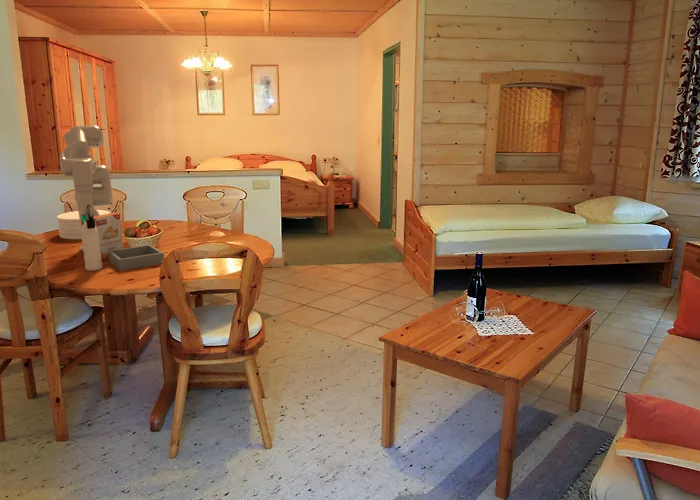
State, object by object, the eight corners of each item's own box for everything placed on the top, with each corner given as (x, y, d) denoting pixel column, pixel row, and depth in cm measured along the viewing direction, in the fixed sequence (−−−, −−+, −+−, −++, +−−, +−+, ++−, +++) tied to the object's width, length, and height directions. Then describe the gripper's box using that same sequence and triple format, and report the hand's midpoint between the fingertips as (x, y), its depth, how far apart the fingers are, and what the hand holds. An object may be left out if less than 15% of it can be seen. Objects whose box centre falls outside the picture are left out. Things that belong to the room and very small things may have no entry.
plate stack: (49, 235, 328) (46, 215, 325) (94, 226, 350) (92, 208, 347) (77, 241, 313) (75, 221, 310) (122, 232, 335) (120, 212, 332)
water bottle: (88, 267, 263) (82, 213, 257) (104, 266, 264) (98, 213, 258) (83, 271, 257) (76, 216, 250) (99, 271, 257) (92, 216, 251)
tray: (109, 261, 273) (107, 250, 272) (151, 254, 285) (150, 244, 283) (120, 270, 258) (119, 259, 256) (164, 263, 269) (163, 252, 268)
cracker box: (101, 261, 273) (96, 218, 268) (92, 259, 276) (87, 217, 271) (124, 254, 285) (120, 213, 280) (116, 252, 288) (111, 212, 283)
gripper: (70, 187, 255) (75, 224, 260) (79, 191, 242) (84, 230, 246) (88, 185, 260) (93, 222, 264) (97, 189, 246) (102, 228, 250)
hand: (88, 226), depth 255 cm, fingers open, 9 cm apart
